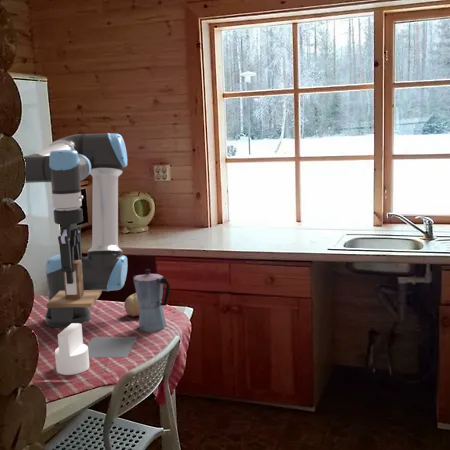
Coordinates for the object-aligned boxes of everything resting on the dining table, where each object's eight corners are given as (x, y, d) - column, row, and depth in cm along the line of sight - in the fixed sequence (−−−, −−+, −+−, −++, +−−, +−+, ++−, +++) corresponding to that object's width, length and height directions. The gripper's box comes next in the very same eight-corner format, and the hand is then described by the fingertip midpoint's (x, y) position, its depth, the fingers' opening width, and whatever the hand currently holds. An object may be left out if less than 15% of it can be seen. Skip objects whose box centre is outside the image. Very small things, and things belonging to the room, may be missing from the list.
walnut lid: (60, 293, 169) (57, 256, 167) (101, 293, 168) (99, 255, 166) (46, 307, 157) (43, 267, 155) (91, 307, 157) (88, 267, 154)
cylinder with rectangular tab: (81, 377, 159) (77, 336, 157) (50, 375, 161) (46, 334, 159) (94, 363, 168) (91, 324, 166) (65, 361, 170) (62, 322, 167)
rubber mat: (93, 338, 186) (93, 337, 185) (137, 338, 185) (137, 336, 185) (79, 359, 171) (79, 357, 171) (127, 359, 170) (127, 357, 170)
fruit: (127, 311, 209) (126, 290, 208) (150, 311, 209) (148, 289, 207) (123, 319, 201) (121, 297, 200) (146, 319, 201) (145, 297, 199)
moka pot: (144, 319, 201) (141, 263, 197) (181, 327, 193) (179, 268, 189) (126, 329, 193) (122, 270, 189) (164, 337, 185) (161, 276, 181)
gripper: (72, 213, 149) (79, 301, 154) (89, 202, 166) (95, 282, 170) (43, 213, 149) (51, 301, 154) (63, 203, 166) (69, 282, 171)
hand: (74, 291), depth 162 cm, fingers closed on walnut lid, 4 cm apart
